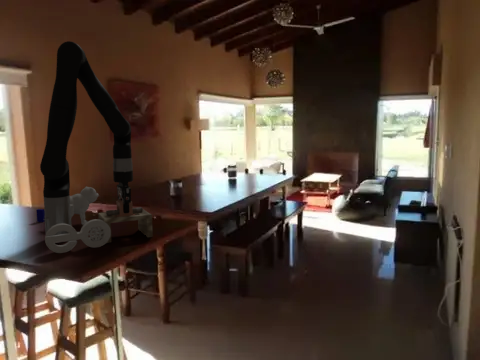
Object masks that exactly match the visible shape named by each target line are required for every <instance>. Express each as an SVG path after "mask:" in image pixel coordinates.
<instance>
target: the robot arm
mask: <svg viewBox="0 0 480 360" xmlns="http://www.w3.org/2000/svg"><path fill="white" fill-rule="evenodd" d="M86 55H87V54H86V52H85V51H84V50H83V48H82V47H81V46H80V45H79V44H78V43H76V42H74V41H71V40H68V41H64V42H62V43H61V44H60V45H59V46H58V48H57V51H56V66H55V67H56V69H55V79H54V80H55V81H54V84H53V89H52V94H51V99H50V104H49V110H48V117H47V118H48V121H47V128H46V129H47V130H46V141H45V146H44V150H43V154H42V158H41V160H40V164H39V165H40V167H39V169H40V172H41V174H42V176H43V184H44V185H43V190H42V194H43V195H42V196H43V207H44V211H45V222H44V229H45V234H46V233H47V231H48V230H49V229H50V228H51V227H52V226H54V225H56V224H61V223H65V224H68V225H70V226H71V225H72V218H71V209H70V196H71V195H70V194H71V193H70V190H71V178H70V177H71V176H70V165H69V161H68V159H67V151H68V144H69V141H70V138H71V135H72V133H73V130H74V129H73V128H74V126H75V122H76V117H77V110H78V89H77V85H78V84H77V83H78V81H79V82H80V83H81V85H82V87H83V88H84V90H85V92H86V94H87V95H88V97H89V100H91V103H92V104H93V105H94V106H95V108H96V109H97V111H98V112H99V114H100V115H101V116H102V118H103V119H104V121H105V123H106V124H107V126H108V128H109V130H110V131H111V134H112V135H113V144H112V145H113V146H112V159H113V160H112V174H113V175H112V176H113V180H112V181H113V183H117V185H116V189H117V190H116V191H117V192H116V193H117V200H118V201H121V200H123V212H124V213H129V203H131V201H132V188H131V187H130V186H129V183H130V182H133V181H134V170H133V169H134V168H133V167H134V166H133V165H134V164H133V158H132V147H131V146H132V145H131V141H132V127H131V123H130V122H129V121H128V120H127V119H126V118H125V117H124V116H123V114H122V113H121V111H120V109H119V107H118V105H117V103H116V102H115V100H114V99H113V98H112V95H111V94H110V93H109V92H108V90H107V89H106V88H105V86H104V85H103V84H102V82H101V81H100V80H99V79H98V77H97V76H96V73H95V72H94V70H93V69H92V67H91V64H90V63H89V59H88V57H87V56H86ZM60 234H68V232H67V231H59V232H57V233H56V234H55V235H60ZM49 236H53V235H49Z"/></svg>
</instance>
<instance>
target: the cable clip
mask: <svg viewBox="0 0 480 360" xmlns="http://www.w3.org/2000/svg"><path fill="white" fill-rule="evenodd" d="M35 210H36V211H35V212H36V222H37V223H45V220H43V219H45V210H44V209H43V208H42V209H41V208H38V209H37V208H36V209H35Z"/></svg>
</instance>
